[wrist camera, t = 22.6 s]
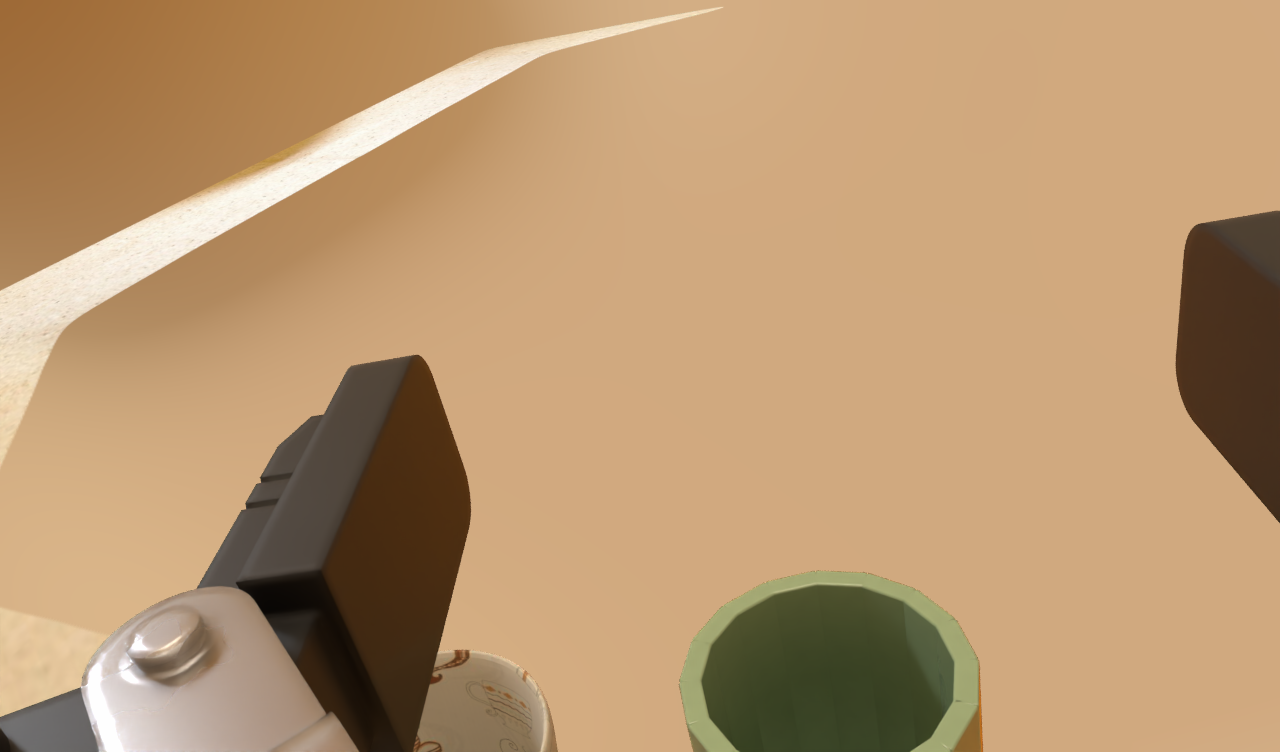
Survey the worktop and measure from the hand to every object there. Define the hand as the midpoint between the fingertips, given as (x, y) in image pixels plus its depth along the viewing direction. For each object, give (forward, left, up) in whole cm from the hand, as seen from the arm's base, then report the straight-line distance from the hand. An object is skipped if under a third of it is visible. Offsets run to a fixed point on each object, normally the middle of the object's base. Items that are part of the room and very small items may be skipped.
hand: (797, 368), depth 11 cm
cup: (+3, +5, -21) cm, 22 cm away
